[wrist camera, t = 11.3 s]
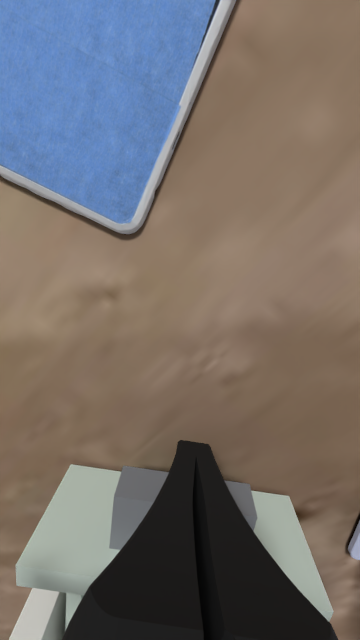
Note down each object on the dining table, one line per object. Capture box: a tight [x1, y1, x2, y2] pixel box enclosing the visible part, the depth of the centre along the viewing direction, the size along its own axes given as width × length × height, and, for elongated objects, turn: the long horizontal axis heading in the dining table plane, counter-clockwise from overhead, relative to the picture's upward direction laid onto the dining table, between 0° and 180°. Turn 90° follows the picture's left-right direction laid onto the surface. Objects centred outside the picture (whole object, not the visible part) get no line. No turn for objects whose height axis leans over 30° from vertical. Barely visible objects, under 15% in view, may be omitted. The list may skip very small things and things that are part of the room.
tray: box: [16, 464, 333, 631], centre depth 15 cm, size 13×19×5 cm
